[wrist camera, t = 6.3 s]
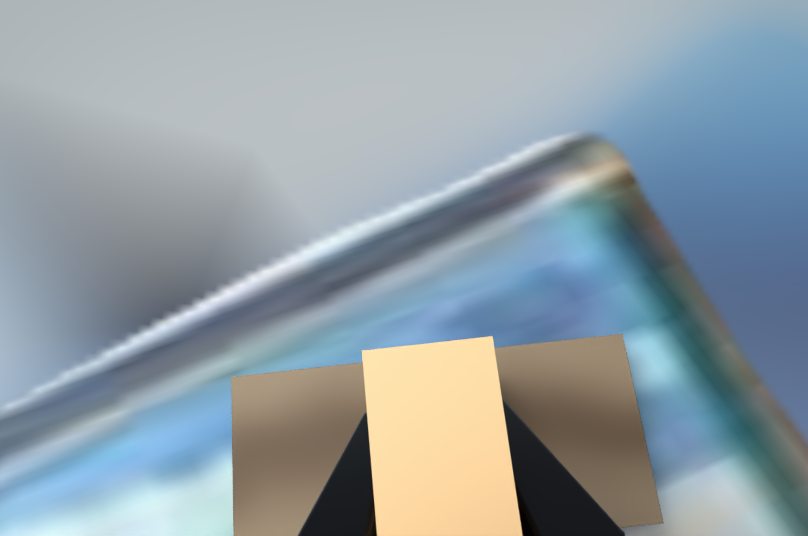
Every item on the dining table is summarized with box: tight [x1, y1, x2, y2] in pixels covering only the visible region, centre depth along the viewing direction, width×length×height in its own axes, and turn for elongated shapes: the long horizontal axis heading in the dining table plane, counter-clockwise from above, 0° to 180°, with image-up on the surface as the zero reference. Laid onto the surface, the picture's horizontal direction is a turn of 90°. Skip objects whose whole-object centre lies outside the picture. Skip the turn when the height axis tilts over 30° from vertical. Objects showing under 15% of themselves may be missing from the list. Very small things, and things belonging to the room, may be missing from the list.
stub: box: [362, 336, 523, 536], centre depth 9 cm, size 5×2×6 cm, turn 6°
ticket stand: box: [231, 334, 663, 536], centre depth 19 cm, size 7×16×6 cm, turn 96°
